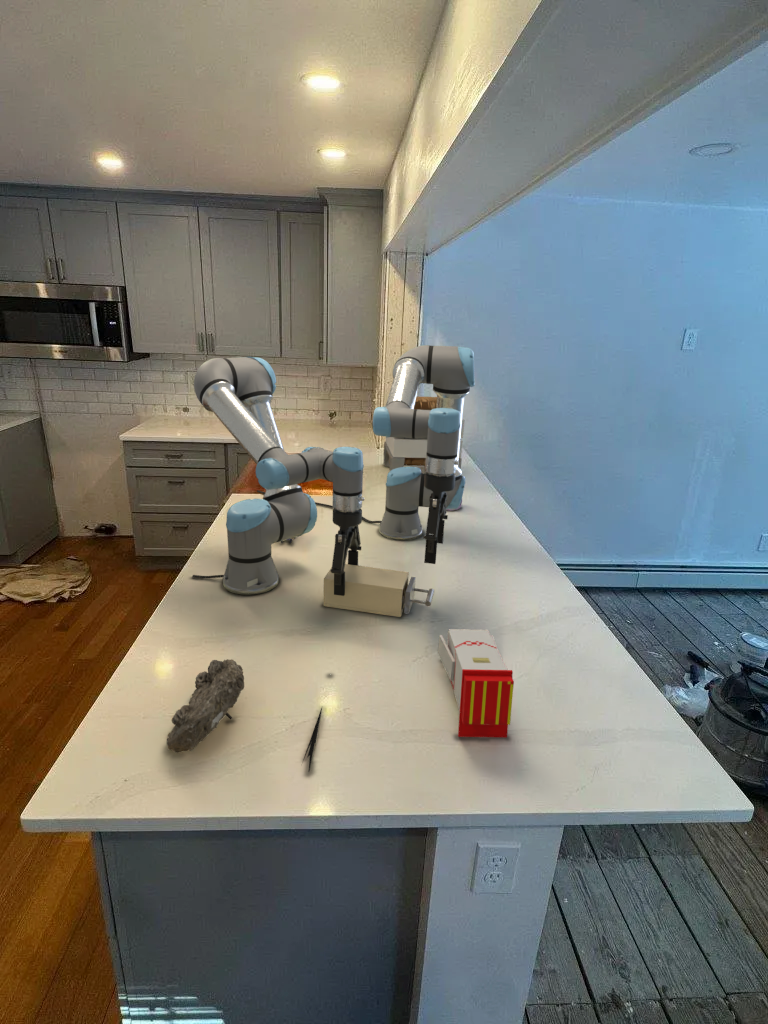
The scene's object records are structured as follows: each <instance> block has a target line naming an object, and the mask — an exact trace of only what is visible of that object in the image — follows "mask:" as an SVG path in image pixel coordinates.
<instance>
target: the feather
mask: <svg viewBox="0 0 768 1024" xmlns="http://www.w3.org/2000/svg"><path fill="white" fill-rule="evenodd" d="M329 675H330V676H331V675H332V674H331V673H330V674H329ZM322 710H323V707H321V708H320V710H319V713H318V716H317V719H316V723H315V725H314V728H313V731H312V733H311V737H310V739H309V742H308V745H307V748H306V751H305V754H304V757H303V760H302V763H301V767H302V765H303V763H304V761H305V758H308V759H309V760H308V762H307V763H308V764H307V766H308V771H310V770H311V766H312V765H311V764H312V760H313V757H315V756H314V755H315V751H316V749H315V746H317V739H318V733H319V729H320V722H321V717H322V712H323V711H322ZM313 754H314V755H313ZM306 755H307V757H306Z"/></svg>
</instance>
